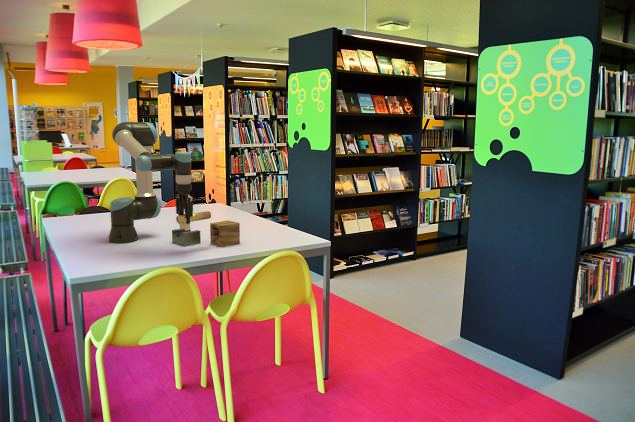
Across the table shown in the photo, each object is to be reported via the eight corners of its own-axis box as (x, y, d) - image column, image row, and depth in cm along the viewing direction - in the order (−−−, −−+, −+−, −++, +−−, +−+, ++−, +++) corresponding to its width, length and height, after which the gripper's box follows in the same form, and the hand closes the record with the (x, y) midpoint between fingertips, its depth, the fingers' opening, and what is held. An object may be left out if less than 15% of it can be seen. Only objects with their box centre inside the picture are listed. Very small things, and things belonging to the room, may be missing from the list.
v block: (172, 242, 271) (171, 230, 270) (188, 239, 278) (187, 227, 277) (184, 246, 263) (184, 233, 262) (200, 243, 270) (200, 230, 269)
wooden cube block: (210, 244, 269) (210, 223, 267) (228, 240, 277) (228, 220, 275) (221, 247, 262) (221, 225, 260) (239, 243, 271) (239, 222, 269)
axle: (180, 224, 246) (180, 216, 245) (176, 223, 249) (176, 215, 248) (211, 219, 259) (211, 211, 258) (206, 218, 261) (206, 210, 261)
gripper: (200, 184, 243) (200, 231, 247) (181, 180, 255) (182, 225, 259) (186, 185, 238) (187, 233, 242) (167, 182, 249) (169, 227, 253)
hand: (184, 229), depth 250 cm, fingers closed on axle, 4 cm apart
